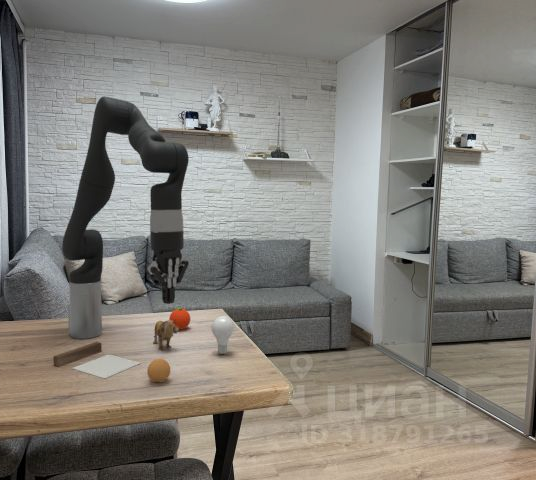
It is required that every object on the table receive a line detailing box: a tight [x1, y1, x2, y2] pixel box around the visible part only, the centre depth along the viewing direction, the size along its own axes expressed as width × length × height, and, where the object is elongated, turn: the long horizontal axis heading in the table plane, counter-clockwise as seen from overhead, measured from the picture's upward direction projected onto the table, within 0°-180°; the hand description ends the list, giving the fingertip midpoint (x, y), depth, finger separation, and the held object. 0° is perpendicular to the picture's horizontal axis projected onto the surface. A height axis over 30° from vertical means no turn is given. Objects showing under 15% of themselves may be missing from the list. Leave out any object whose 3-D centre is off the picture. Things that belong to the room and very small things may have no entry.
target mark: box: [71, 354, 141, 380], centre depth 124 cm, size 12×12×1 cm
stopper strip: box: [53, 341, 102, 368], centre depth 129 cm, size 2×14×2 cm, turn 150°
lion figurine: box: [152, 319, 179, 351], centre depth 141 cm, size 15×5×9 cm, turn 34°
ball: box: [146, 358, 171, 383], centre depth 115 cm, size 6×6×6 cm
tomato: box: [168, 307, 191, 331], centre depth 158 cm, size 8×7×7 cm
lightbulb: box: [211, 315, 235, 355], centre depth 135 cm, size 6×6×11 cm
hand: (168, 302), depth 111 cm, fingers closed
